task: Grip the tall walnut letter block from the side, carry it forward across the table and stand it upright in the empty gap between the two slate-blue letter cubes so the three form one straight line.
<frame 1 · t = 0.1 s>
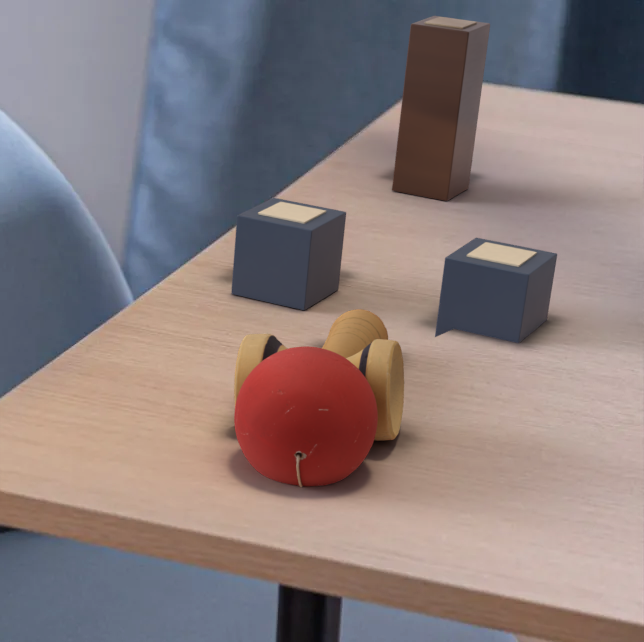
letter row: (384, 314, 96), on the table
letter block: (430, 189, 119), on the table
kendama: (321, 434, 81), on the table
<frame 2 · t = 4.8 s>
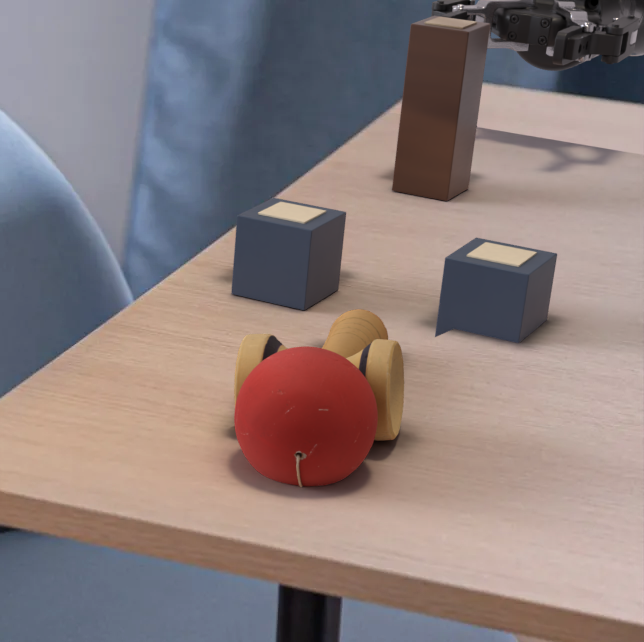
hand: (499, 40, 123), 9 cm above the table, tool horizontal, fingers open, 8 cm apart
nothing on the table moved.
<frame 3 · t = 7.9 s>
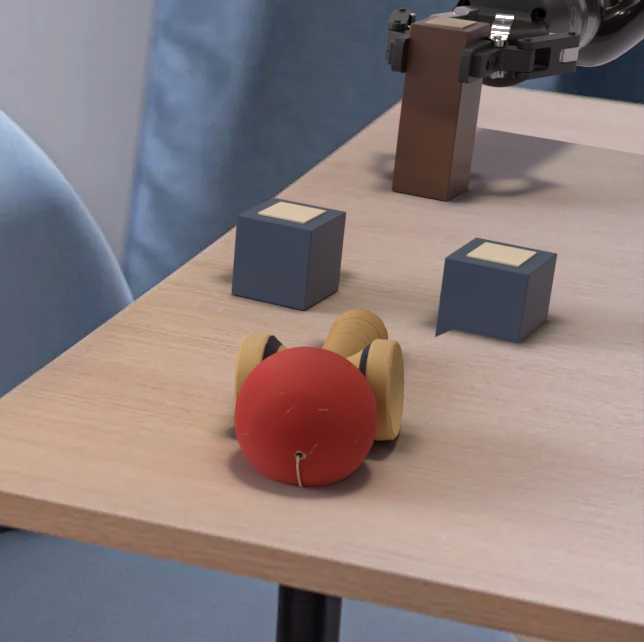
hand: (430, 61, 113), 9 cm above the table, tool horizontal, fingers closed on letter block, 4 cm apart
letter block: (429, 189, 119), on the table, touching gripper
everything else where it was.
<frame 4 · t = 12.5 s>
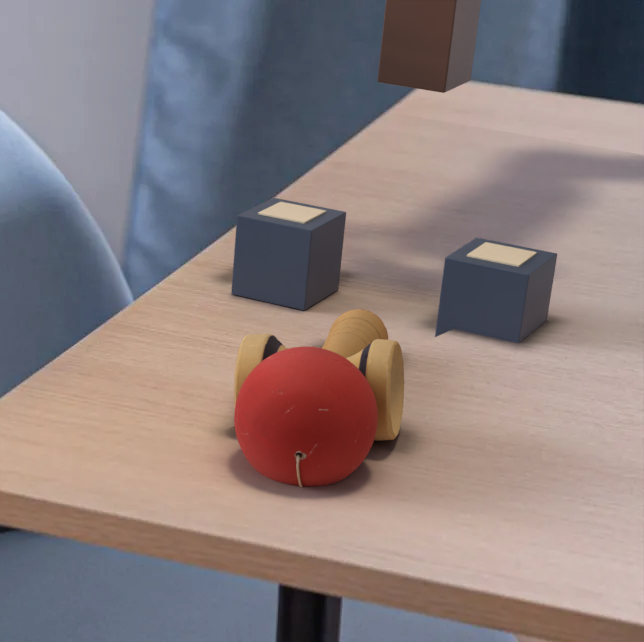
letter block: (424, 81, 98), point 11 cm above the table, touching gripper
everything else where it was.
when the fingers open (9 cm above the table, at t = 16.9 s): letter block stays where it is, on the table.
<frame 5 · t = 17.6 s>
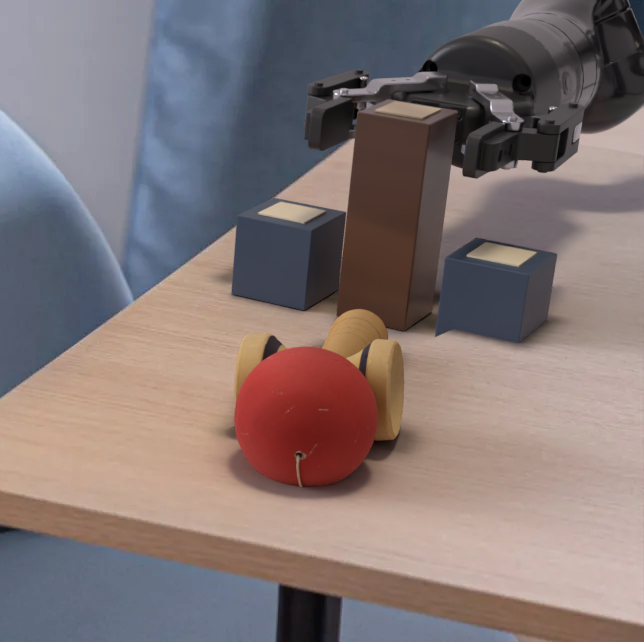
hand: (390, 143, 90), 10 cm above the table, tool horizontal, fingers open, 8 cm apart
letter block: (384, 313, 96), on the table
everything else where it was.
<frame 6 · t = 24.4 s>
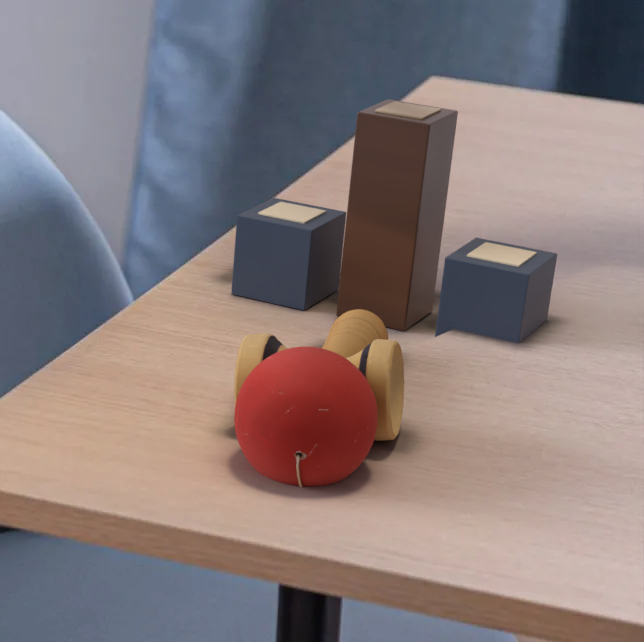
nothing on the table moved.
at the end: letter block 0.0 cm off-centre on the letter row, point 0.0 cm above the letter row's base; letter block tilted 0°; the gripper is holding nothing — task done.
